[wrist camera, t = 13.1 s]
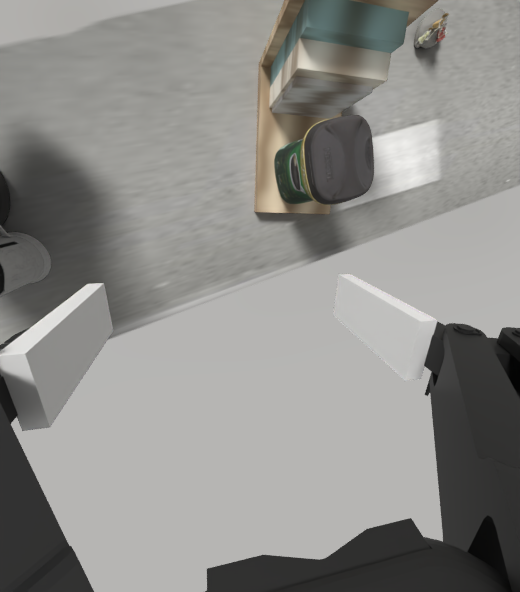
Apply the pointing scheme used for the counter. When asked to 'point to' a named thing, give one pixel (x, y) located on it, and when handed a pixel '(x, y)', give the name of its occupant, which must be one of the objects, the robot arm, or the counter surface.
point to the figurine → (431, 29)
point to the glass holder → (21, 260)
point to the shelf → (320, 74)
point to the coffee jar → (327, 163)
